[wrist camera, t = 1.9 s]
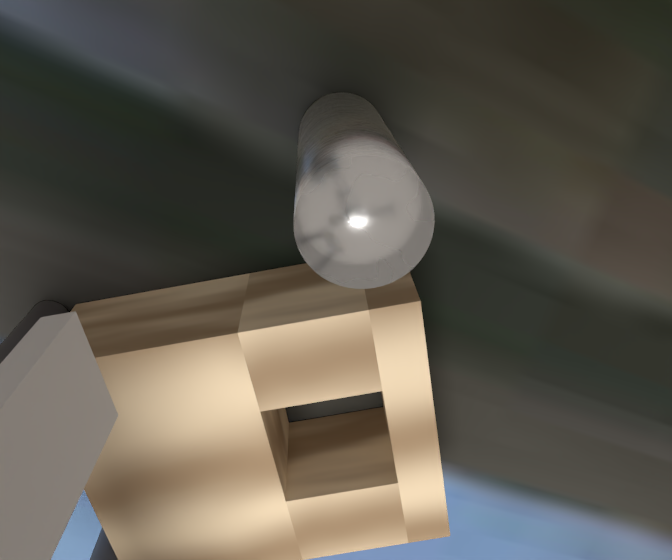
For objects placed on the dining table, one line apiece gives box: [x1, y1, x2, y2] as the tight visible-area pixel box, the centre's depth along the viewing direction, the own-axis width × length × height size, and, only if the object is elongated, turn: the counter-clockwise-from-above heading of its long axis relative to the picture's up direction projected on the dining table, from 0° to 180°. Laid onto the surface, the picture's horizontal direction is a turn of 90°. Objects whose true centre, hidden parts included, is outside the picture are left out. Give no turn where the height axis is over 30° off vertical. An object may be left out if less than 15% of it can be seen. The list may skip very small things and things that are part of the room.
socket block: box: [70, 263, 450, 560], centre depth 31 cm, size 14×17×6 cm
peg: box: [294, 92, 435, 289], centre depth 22 cm, size 4×4×12 cm
